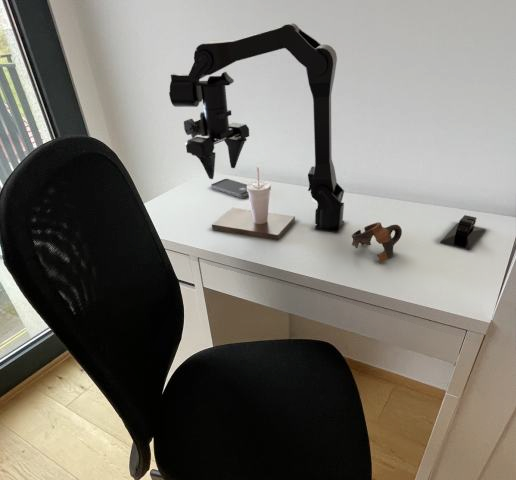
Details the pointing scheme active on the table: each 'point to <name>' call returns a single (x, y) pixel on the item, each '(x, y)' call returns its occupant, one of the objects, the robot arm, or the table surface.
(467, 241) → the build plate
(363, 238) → the brown irregular piece
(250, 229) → the board
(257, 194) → the smoothie
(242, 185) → the phone
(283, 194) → the table surface
